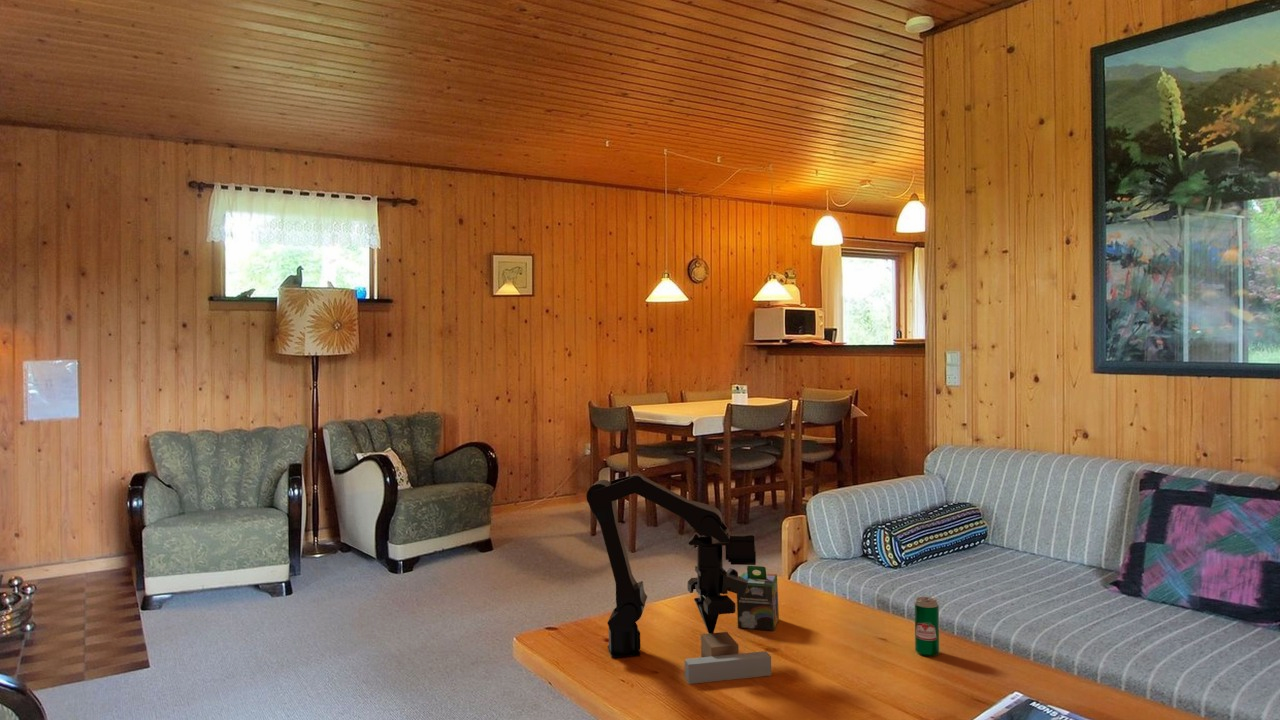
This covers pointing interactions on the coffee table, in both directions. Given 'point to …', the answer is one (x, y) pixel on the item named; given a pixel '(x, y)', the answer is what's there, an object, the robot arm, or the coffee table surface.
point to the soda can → (927, 626)
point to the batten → (727, 667)
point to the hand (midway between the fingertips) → (710, 632)
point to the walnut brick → (718, 644)
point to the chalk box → (758, 601)
